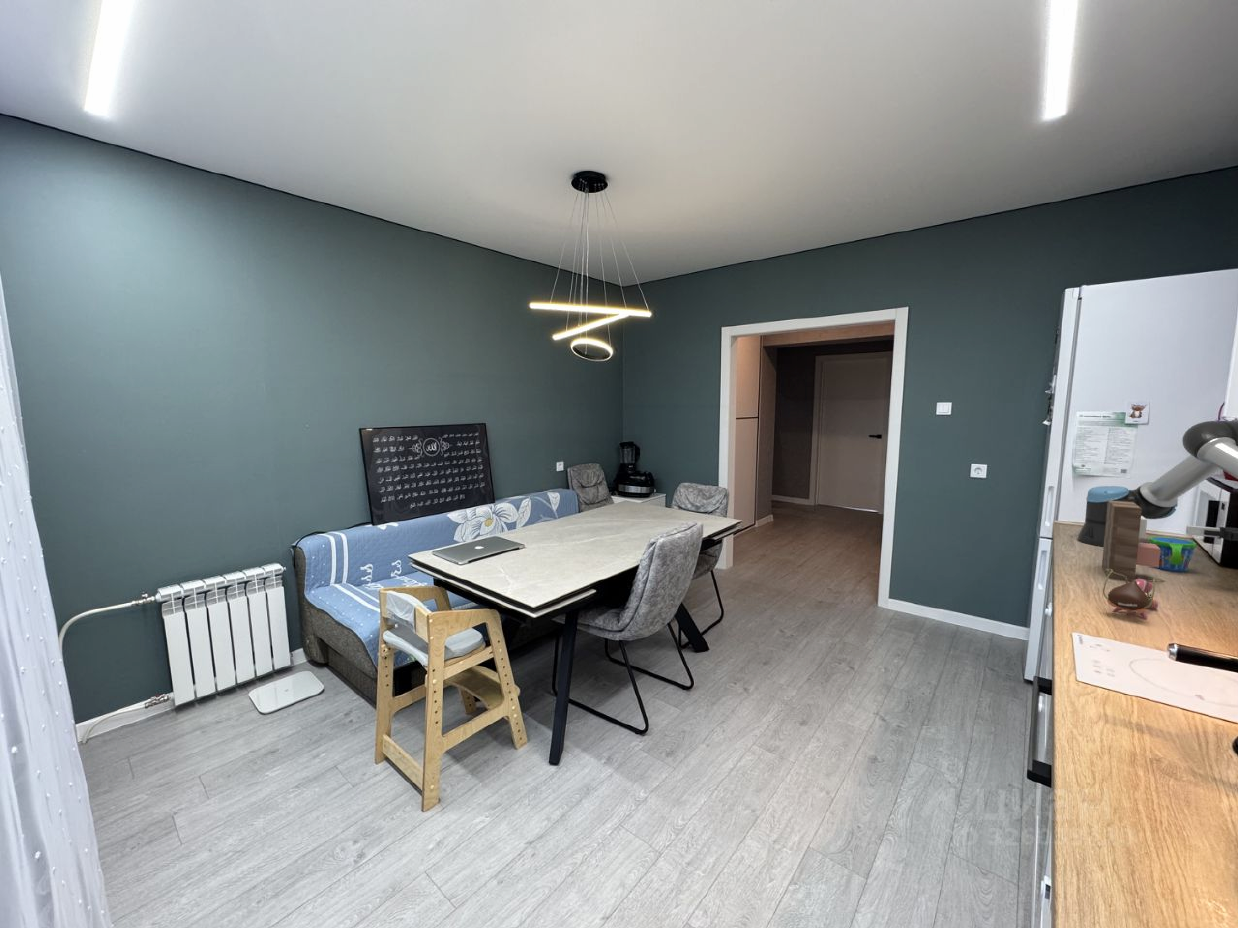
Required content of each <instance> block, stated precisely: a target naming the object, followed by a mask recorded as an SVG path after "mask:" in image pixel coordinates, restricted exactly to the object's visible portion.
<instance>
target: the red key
mask: <svg viewBox="0 0 1238 928" xmlns="http://www.w3.org/2000/svg"><path fill="white" fill-rule="evenodd" d="M1159 559H1160V548H1159V547H1158V546H1157V545H1156V544H1151V543H1148V542H1147V543H1145V542H1138V552H1137V562H1136V566H1145V567H1153V568H1157V567H1159Z"/></svg>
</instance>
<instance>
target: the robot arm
mask: <svg viewBox="0 0 1238 928" xmlns="http://www.w3.org/2000/svg"><path fill="white" fill-rule="evenodd" d="M1181 442H1182V446H1183V448H1184V449H1185V451H1186V452H1187V453H1188V454H1189V456H1188V457H1186V458H1185V459H1183V460H1182V461H1181V462H1179V463H1178V464H1176V465H1175V466H1173V467H1172V468H1170V470H1168V471H1167V472H1165V473H1164V474H1163V475H1161V476H1159V477H1158V478H1157V479H1156V480H1155V481H1149V482H1147V481H1146V482H1144V483H1142V485H1140V486H1138V487H1137V488H1135V489H1128V488H1127V487H1125V486H1117V485H1112V486H1111V485H1105V486H1104V485H1103V486H1101V485H1100V486H1094V487H1092V488H1090V489H1089V490H1088V491H1087V497H1086V506H1085V507H1086V510H1085V519H1084V520H1085V521H1084V524H1083V526H1082V528H1081V529H1080V531H1079V533H1078V534H1077V536H1078V537H1077V541H1079V542H1080V543H1083V544H1087V545H1093V546H1097V547H1103V548H1104V537H1105V526H1106V515H1107V504H1108V500H1113V501H1127V502H1134V503H1135V504H1136V505H1138V506H1139V507H1140V508H1142V511H1141V516H1143V517H1144V518H1146V519H1147V520H1159V519H1165V518H1168V517H1171V516H1172V515H1174V514H1175V512H1176V511H1177V509H1176V508H1177V507H1178V501H1179V498H1180V497H1181V496H1182V495H1184V494H1185V493H1187V492H1188V491H1190V490H1192V489H1193V488H1195V487H1197V486H1198V485H1200V484H1201V483H1203V482H1204V481H1205V480H1207V479H1208V478H1210V477H1211V476H1213V475H1214V474H1216V473H1217V472H1219V471H1221V470H1222V471H1224V472H1225V473H1227V474H1229V475H1231V476H1232V477H1234V478H1236V479H1237V480H1238V420H1212V421H1211V420H1210V421H1209V420H1208V421H1202V422H1199V423H1196V424H1194V425H1192V426H1190V428H1189V427H1188V429H1187V430H1186V431H1185V433H1184V434H1183V436H1182V441H1181ZM1185 535H1188V536H1199V537H1207V538H1209V537H1210V538H1216V539H1219V540H1221V539H1224V540H1227V541H1232V542H1233V541H1234V542H1238V528H1237V527H1224V526H1221V527H1220V526H1219V527H1210V526H1201V525H1199V526H1198V525H1186V529H1185Z"/></svg>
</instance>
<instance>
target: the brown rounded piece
mask: <svg viewBox="0 0 1238 928" xmlns="http://www.w3.org/2000/svg"><path fill="white" fill-rule="evenodd" d="M1105 570H1106V571H1108V572H1110V573H1109V575H1108V576H1106V579H1105V580H1104V583H1103V588H1102V594H1103V596H1104V598H1105V599H1107V603H1108V604H1109V606H1111V607H1114V608H1113V610H1112V612H1119V611H1122V610H1123V611H1126V612H1127V613H1128V614H1132V615H1134V614H1139V615H1140V617H1142V618H1143V619H1144V620H1148V616H1147V614H1146V613H1145V611H1146V610H1147V609H1151V610H1157V609H1158V608H1159V603H1158V601H1157V600H1156V599H1154V595H1155V589H1156V583H1165V581H1166V580H1164V579H1162V578H1159V577H1154V578H1153V579H1152V580H1146V579H1144V578H1135V580H1132V581H1131V582H1130V581H1127V577H1126V576H1124V575H1121V574H1118V573H1115V572H1113V570H1112V569H1105ZM1109 570H1111V571H1109ZM1111 573H1115V574H1118V575H1121V576H1123V577H1125V578H1126V581H1125V583H1124V584H1121V585H1118V586H1116V587H1113V588H1112V589H1111V590H1110V591H1109V592H1108V594H1107V595H1106V593H1105V590H1106V585H1107V581H1108V580H1109V576H1110V574H1111ZM1151 582H1152V583H1151ZM1151 591H1152V592H1151Z"/></svg>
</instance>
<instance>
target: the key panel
mask: <svg viewBox="0 0 1238 928" xmlns="http://www.w3.org/2000/svg"><path fill="white" fill-rule="evenodd" d="M1141 511H1142V508H1140V507H1139V506H1138V505H1136V504H1135V503H1134V502H1127V501H1113V500H1108V504H1107V515H1106V526H1105V537H1104V547H1103V550H1102V560H1101V569H1102V571H1103V572H1104V574H1105V575H1106V577H1107V576H1108V575H1109V573H1110V572H1108V571H1106V570H1105V569H1112V570H1113V572H1115V573H1118V574H1121V575H1124V576H1126V577H1127V582H1131V581H1132V580H1136V570H1137V565H1136V562H1137V552H1138V542H1139V540H1140V538H1139V531H1140V521H1141ZM1139 543H1140V542H1139ZM1109 571H1111V570H1109ZM1115 573H1111V574H1110V576H1109V578H1108V580H1109V579H1110V580H1116V581H1123V582H1124V581H1125V582H1126V578H1125V577H1123V576H1121V575H1118V574H1115Z"/></svg>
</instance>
